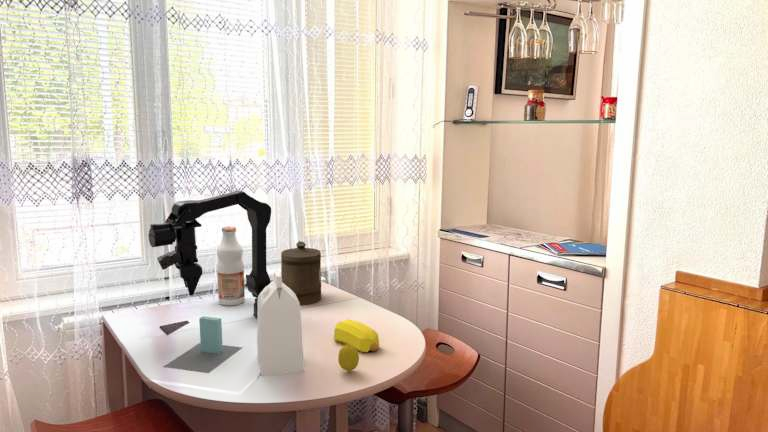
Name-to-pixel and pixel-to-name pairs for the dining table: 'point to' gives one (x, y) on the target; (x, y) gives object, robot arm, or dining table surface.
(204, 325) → the card box
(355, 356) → the lemon
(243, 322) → the dining table surface
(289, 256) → the wooden container
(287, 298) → the milk
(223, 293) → the fruit juice
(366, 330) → the yellow kitchen sponge
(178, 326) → the chocolate bar
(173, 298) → the dining table surface
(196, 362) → the mat
